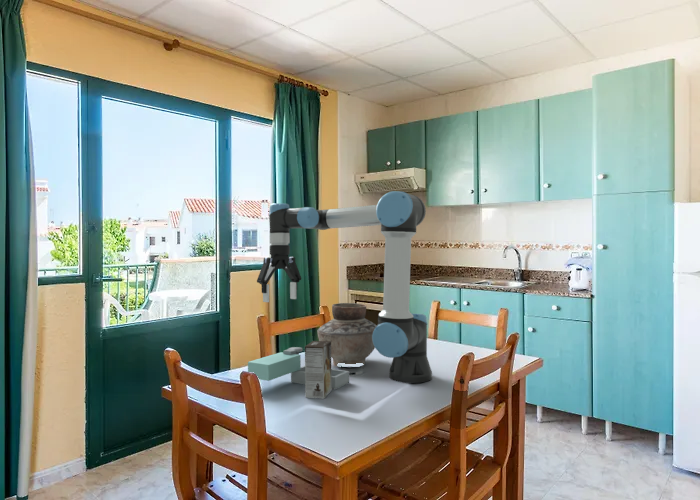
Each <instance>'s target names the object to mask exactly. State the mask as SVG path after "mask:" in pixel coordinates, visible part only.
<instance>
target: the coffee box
mask: <svg viewBox="0 0 700 500" xmlns="http://www.w3.org/2000/svg"><path fill="white" fill-rule="evenodd" d="M304 366H305V384H304V385H305V387H304V388H305V390H304V391H305V392H304V393H305V394H304V395H305V398H306V399H326V397H328V395H329V394H330V393H331V391H332V390H333V389H332V378H331V369H332V357H331V341H319V340H313V341H311V342H309V343H308V344H306V345H305V346H304Z"/></svg>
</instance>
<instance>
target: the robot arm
mask: <svg viewBox="0 0 700 500" xmlns="http://www.w3.org/2000/svg"><path fill="white" fill-rule="evenodd" d="M426 212H427V210H426V206H425V203H424V201H423V200H422V199H421V198H420V197H418V196H417V195H414V194H410V193H407V192H405V191H399V190H398V191H395V190H393V191H389V192H387V193H385V194H383V195H382V196H381V197H380V199H379V200H378V202H377V204H373V205H363V206H352V207H351V206H350V207H342V208H330V209H329V208H328V209H316V208H315V207H310V206H304V207H296V208H295V207H294V208H290V204H288V203H285V202H284V203H282V202H281V203H277V202H276V203H271V204H270V206H269V212H268V213H269V214H268V219H269V244H270V245H269V255H270V257H266V256H265V257H264V258H263V262H262V263H263V264H262V266H261V269H260V271H259V274H258V277H257V279H256V283H258V284H259V285H261V293H262V302H263V303H270V284H268V283H269V282H270V280H271V278H272V276H274V274H275V272H276V271H277V270H284V272H285V274H286V275H287V276H288V278H289V279H290V283H289V294H290V295H289V296H290V297H289V298H290V300H297V290H298V283H299V282H300V281H302V276H301V273H300V271H299V268H298V265H297V263H296V257H295V256H289V255H290V254H291V253H290V252H291V251H290V250H291V249H290V247H291V246H290V245H289V244H290V243H291V242H290V230H291V229H309V230H320V231H324V230H329V229H342V228H343V229H344V228H359V227H371V226H373V227H374V226H380V233H381V235H383V236H384V239H385V241H384V267H383V268H384V269H383V270H384V271H383V298H382V299H383V302H382V310H381V311H380V312H379V313H378V317H377V327H376V328H375V329H374V331H373V335H372V340H373V344H374V347H375V350H376V351H377V352H378V353H379V354H380V355H382V356H383V357H386V358H388V359H389V358H390V359H391V358H392V361H391V365H390V367H389V371H388V373H389V374H388V377H389V379H390V380H392V381H394V382H399V383H406V384H419V383H426V382H429V381H431V380H432V379H433V371H432V368H431V365H430V362H429V359H428V343H427V342H428V340H427V339H428V337H427V335H428V333H427V332H428V331H427V330H428V328H427V327H428V321H427V320H428V319H427V316H426V315H425V314H424V313H413V312H412V313H411V311H410V291H411V290H410V289H411V287H410V286H411V262H412V261H411V258H412V257H411V256H412V238H413V237H414V236H415V235H416V234H417V227H418V226H419V225H421V223H423V221H424V219H425V217H426Z"/></svg>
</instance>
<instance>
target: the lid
mask: <svg viewBox="0 0 700 500" xmlns="http://www.w3.org/2000/svg"><path fill="white" fill-rule="evenodd" d="M282 351H283V352H282ZM282 351H281V352H277V353H274V354H270V355H267V356H263V357H261V358H256V359H253V360H250V361H248V362H247V373H248V372H254V373H255V374H256V375H257V376H258V378H259V379H258V380H260V381H261V380H262V381H268V382H269V381H272V380H276V379H278V378H280V377H283V376H286V375H289V374H291V373H292V372H295V371H297V370H300V369H301V367H302V366H301V363H302V362H301V361H302V360H301V354H299V355H298V354H296V352H299V353H301V352H303V347H300V346H299V347H298V346H296V347H295V346H292V347H288V348H287V349H285V350H282Z"/></svg>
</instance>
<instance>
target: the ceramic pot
mask: <svg viewBox="0 0 700 500" xmlns="http://www.w3.org/2000/svg"><path fill="white" fill-rule="evenodd" d="M331 311H332V312H331V313H332V317H333V318H332V319H331V320H329V321H328V322H326V323H324V324H323V325H321V326H320V327H319V328H318V329H317V339H318V341H331V359H332V364H333V366H334V367H336V366H337V364H338V363H345V364H356V363H363V364H364V366H365V365H366V359H367V357H369V356H370V355H371V354H372V353H373V351H374V350H376V348H375V347H374V344H373V340H372V335H373V331H374V329H375V328H376V327H377V326H378V324H377V325H376V323H374V322H372V321H370V320H369V319H367V318H365V317H366V313H367V305H366V304H363V303H355V302H354V303H353V302H352V303H351V302H343V303H342V302H341V303H340V302H338V303H334V304H331Z"/></svg>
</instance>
